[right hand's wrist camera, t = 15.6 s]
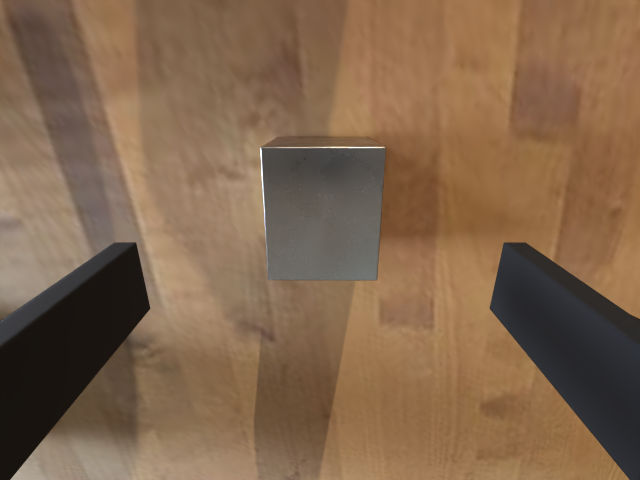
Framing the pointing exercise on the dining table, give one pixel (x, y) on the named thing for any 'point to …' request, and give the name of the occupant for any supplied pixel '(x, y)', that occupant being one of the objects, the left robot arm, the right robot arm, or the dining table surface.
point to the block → (322, 207)
